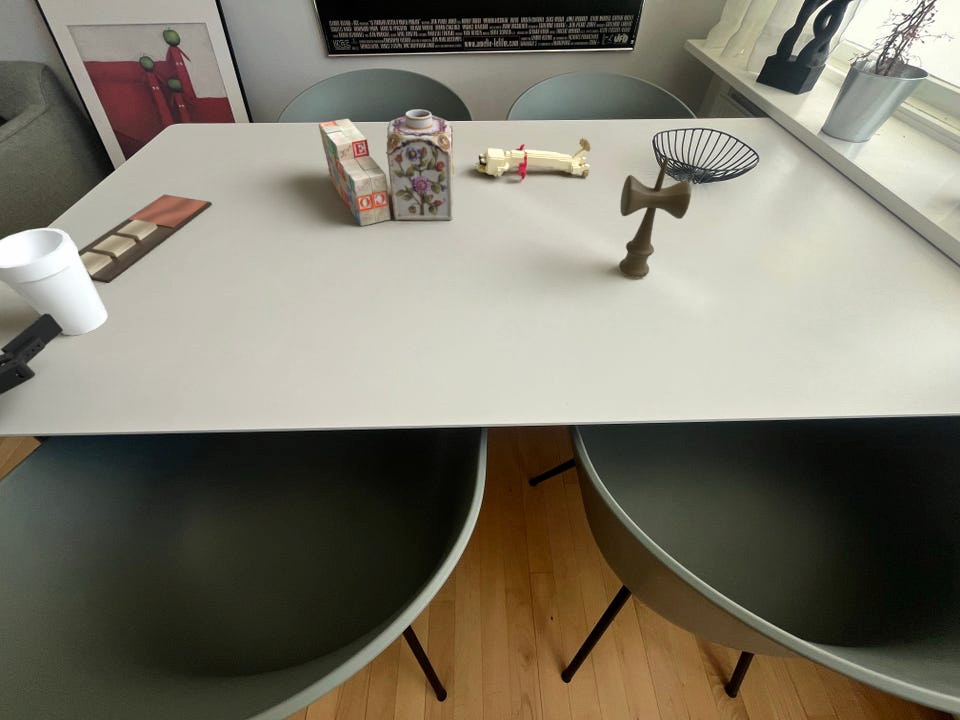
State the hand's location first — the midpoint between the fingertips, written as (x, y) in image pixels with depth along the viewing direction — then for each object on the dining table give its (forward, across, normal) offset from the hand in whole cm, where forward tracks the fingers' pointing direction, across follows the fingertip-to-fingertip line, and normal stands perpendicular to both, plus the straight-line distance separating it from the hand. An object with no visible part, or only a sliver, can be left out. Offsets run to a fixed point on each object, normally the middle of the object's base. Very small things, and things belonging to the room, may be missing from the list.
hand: (7, 315), depth 62 cm
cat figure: (+71, +62, -8) cm, 94 cm away
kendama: (+37, +83, -8) cm, 91 cm away
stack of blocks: (+51, +28, -8) cm, 59 cm away
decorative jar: (+51, +42, -8) cm, 67 cm away
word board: (+30, -7, -8) cm, 32 cm away
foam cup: (+7, 0, -8) cm, 11 cm away
